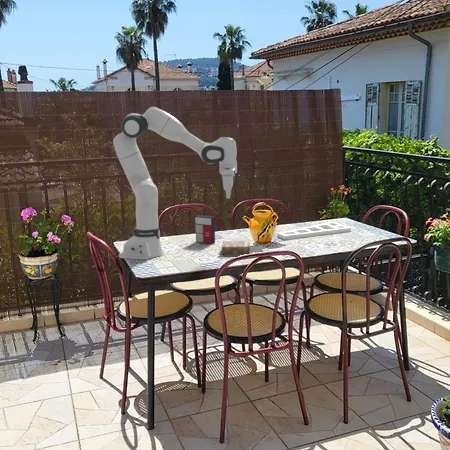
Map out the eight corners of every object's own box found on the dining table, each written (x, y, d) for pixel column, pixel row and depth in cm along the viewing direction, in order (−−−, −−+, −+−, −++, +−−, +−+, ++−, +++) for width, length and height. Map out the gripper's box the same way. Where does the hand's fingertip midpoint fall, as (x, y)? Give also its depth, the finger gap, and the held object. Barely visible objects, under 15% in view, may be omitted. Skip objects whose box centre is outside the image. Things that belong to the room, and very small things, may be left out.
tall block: (221, 246, 240) (249, 246, 240) (223, 241, 251) (249, 240, 250) (222, 254, 241) (249, 253, 240) (223, 248, 252) (249, 248, 251)
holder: (284, 240, 267) (284, 236, 267) (270, 233, 284) (270, 229, 283) (351, 232, 283) (351, 227, 282) (334, 226, 299) (334, 221, 299)
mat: (224, 256, 238) (224, 256, 238) (226, 247, 255) (226, 246, 255) (266, 256, 237) (266, 255, 237) (265, 246, 254) (265, 246, 254)
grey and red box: (195, 242, 267) (194, 216, 263) (199, 240, 270) (198, 215, 267) (212, 244, 262) (211, 217, 258) (215, 242, 265) (214, 216, 262)
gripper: (223, 167, 248) (223, 193, 251) (220, 172, 228) (221, 200, 231) (235, 167, 247) (235, 193, 250) (233, 171, 227) (234, 200, 230)
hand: (228, 196), depth 240 cm, fingers open, 8 cm apart
